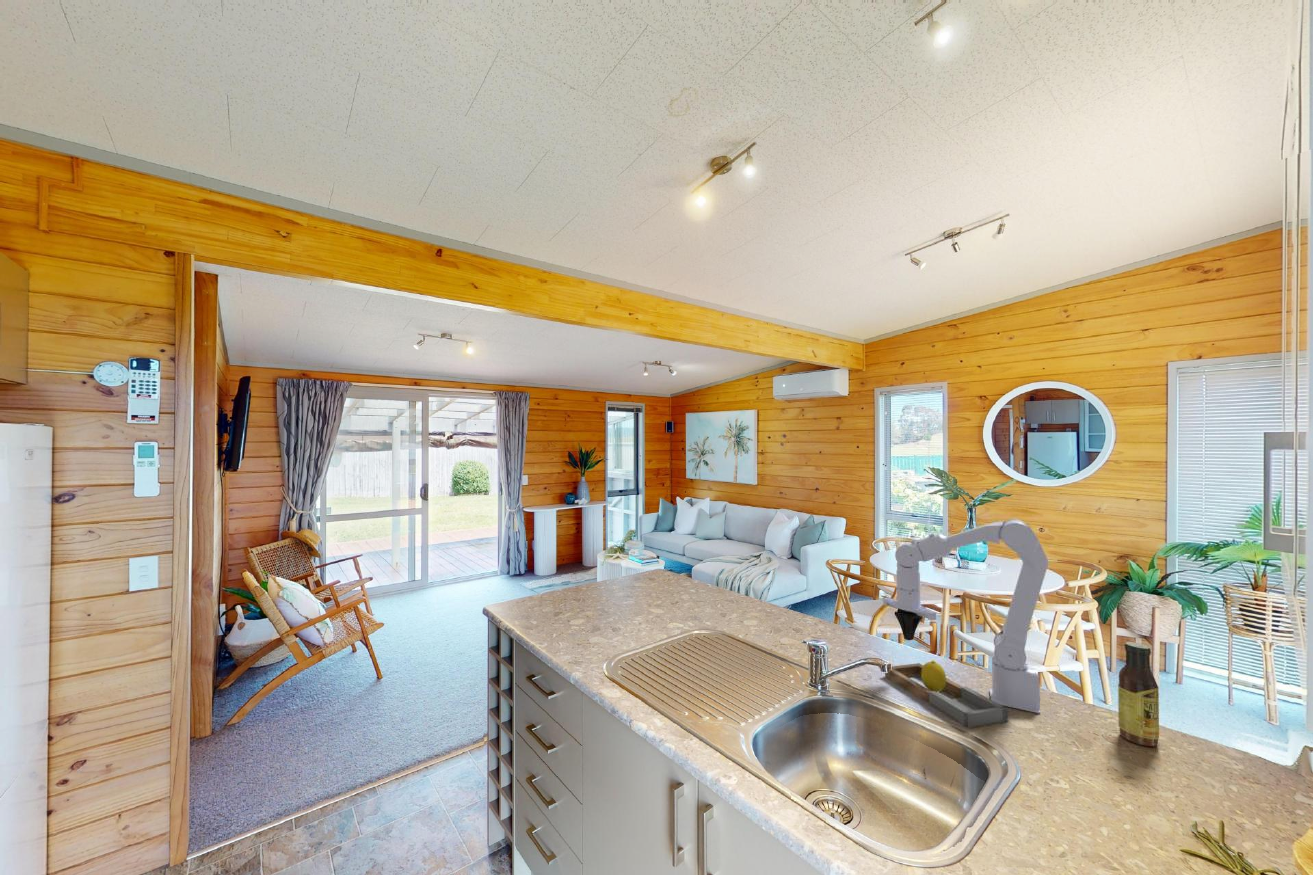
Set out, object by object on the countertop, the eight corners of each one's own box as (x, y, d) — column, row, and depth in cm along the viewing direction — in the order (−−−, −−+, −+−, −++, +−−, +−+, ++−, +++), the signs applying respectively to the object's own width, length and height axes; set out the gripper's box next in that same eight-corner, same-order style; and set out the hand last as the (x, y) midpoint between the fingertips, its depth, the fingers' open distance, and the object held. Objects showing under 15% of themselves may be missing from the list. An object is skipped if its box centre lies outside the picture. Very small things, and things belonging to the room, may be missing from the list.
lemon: (945, 700, 124) (945, 667, 124) (920, 694, 126) (920, 662, 127) (946, 691, 128) (946, 659, 128) (922, 685, 131) (922, 654, 131)
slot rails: (885, 676, 137) (885, 667, 137) (919, 672, 139) (919, 663, 139) (929, 704, 122) (929, 693, 122) (966, 698, 124) (966, 688, 124)
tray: (929, 704, 122) (929, 691, 122) (966, 698, 124) (966, 686, 124) (968, 728, 111) (968, 714, 111) (1007, 721, 114) (1007, 708, 114)
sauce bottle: (1151, 751, 103) (1149, 653, 103) (1113, 736, 108) (1111, 642, 109) (1165, 743, 106) (1163, 647, 106) (1126, 728, 111) (1125, 637, 112)
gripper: (943, 593, 132) (943, 645, 131) (894, 580, 145) (895, 628, 144) (925, 596, 128) (926, 650, 128) (877, 583, 141) (878, 632, 141)
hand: (908, 639), depth 136 cm, fingers closed
